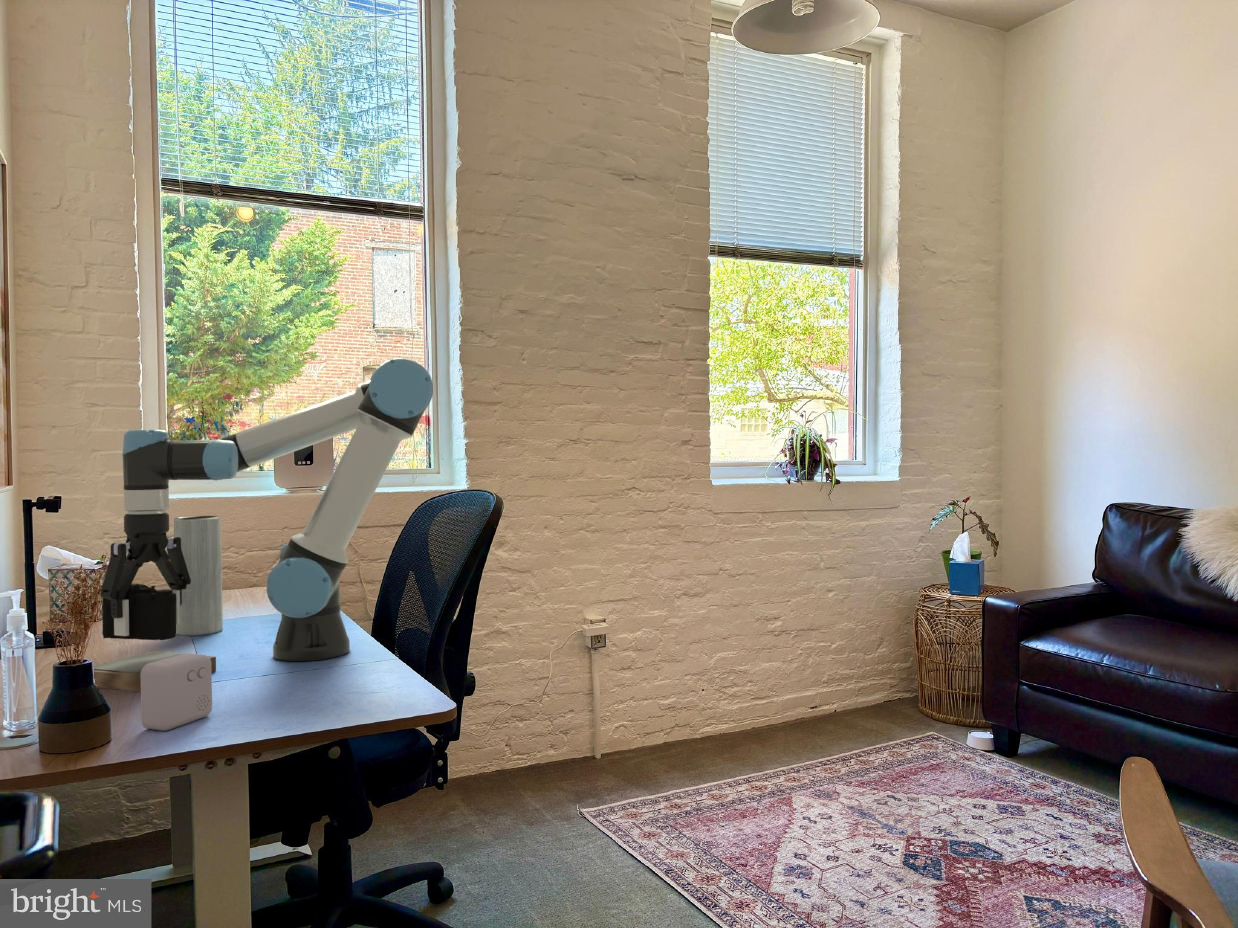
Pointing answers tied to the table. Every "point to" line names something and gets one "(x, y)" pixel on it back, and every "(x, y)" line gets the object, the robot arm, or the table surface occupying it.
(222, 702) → the table surface
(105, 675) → the stand
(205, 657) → the electronic device
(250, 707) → the table surface
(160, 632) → the camera
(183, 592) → the vase
